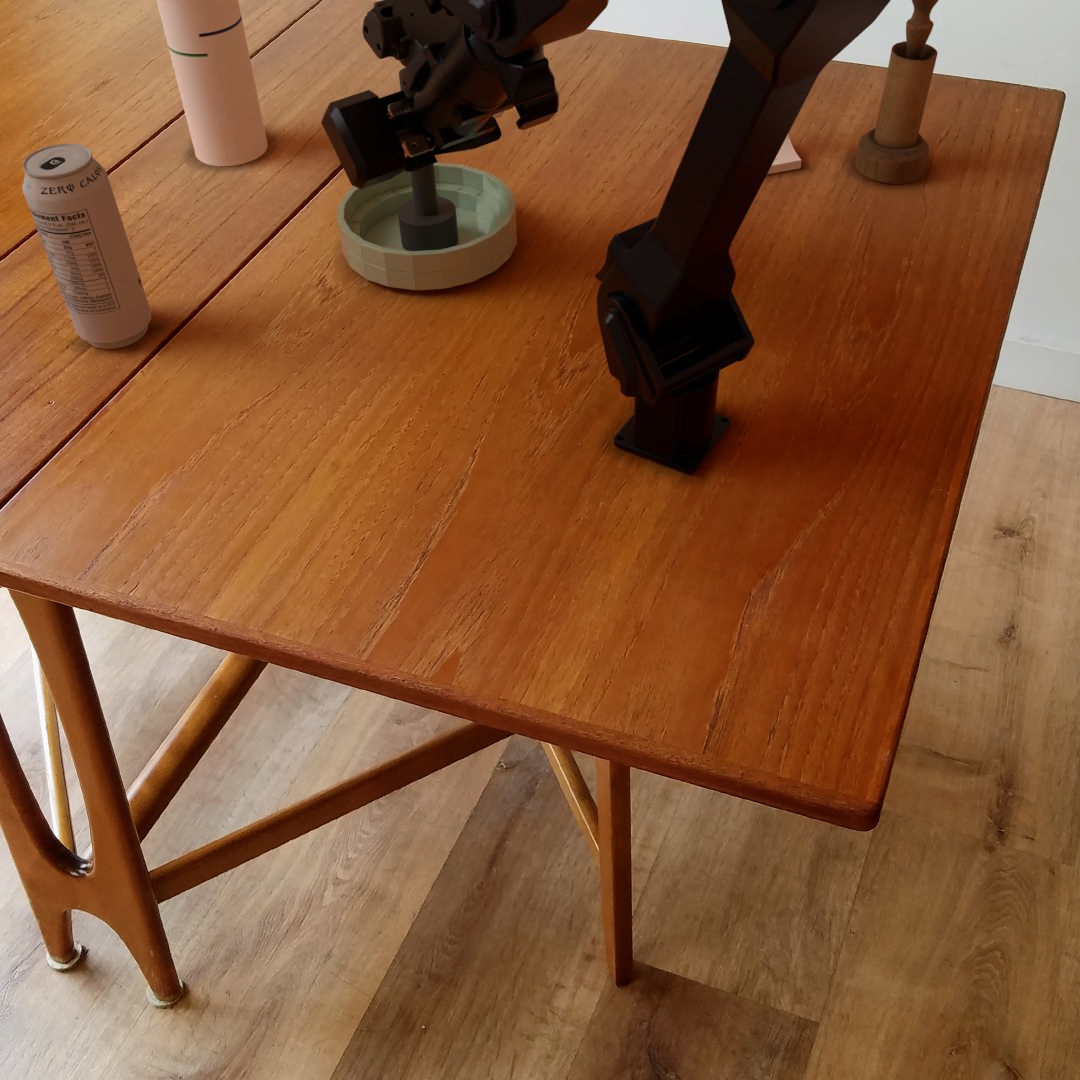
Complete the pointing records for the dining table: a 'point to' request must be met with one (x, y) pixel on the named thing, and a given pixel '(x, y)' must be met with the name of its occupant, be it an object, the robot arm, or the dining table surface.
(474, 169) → the bowl
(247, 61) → the cylindrical container
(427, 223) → the grey rod with base
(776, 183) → the dining table surface
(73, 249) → the energy drink can
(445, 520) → the dining table surface
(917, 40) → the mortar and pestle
